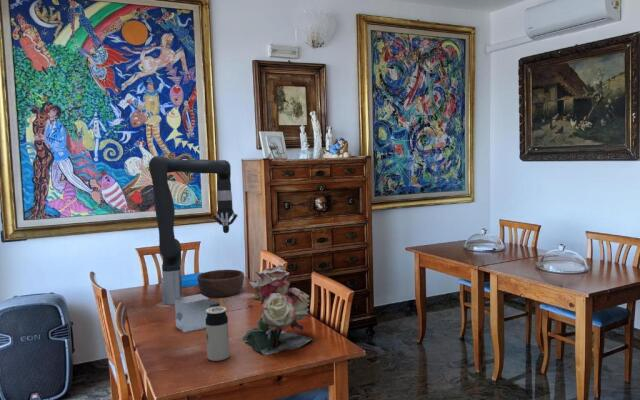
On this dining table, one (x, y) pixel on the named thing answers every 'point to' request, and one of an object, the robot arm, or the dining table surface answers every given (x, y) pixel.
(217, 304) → the dark boxy piece
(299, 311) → the rose bouquet
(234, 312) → the dining table surface
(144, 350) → the dining table surface
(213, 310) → the travel mug
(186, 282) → the book
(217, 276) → the wooden bowl
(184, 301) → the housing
